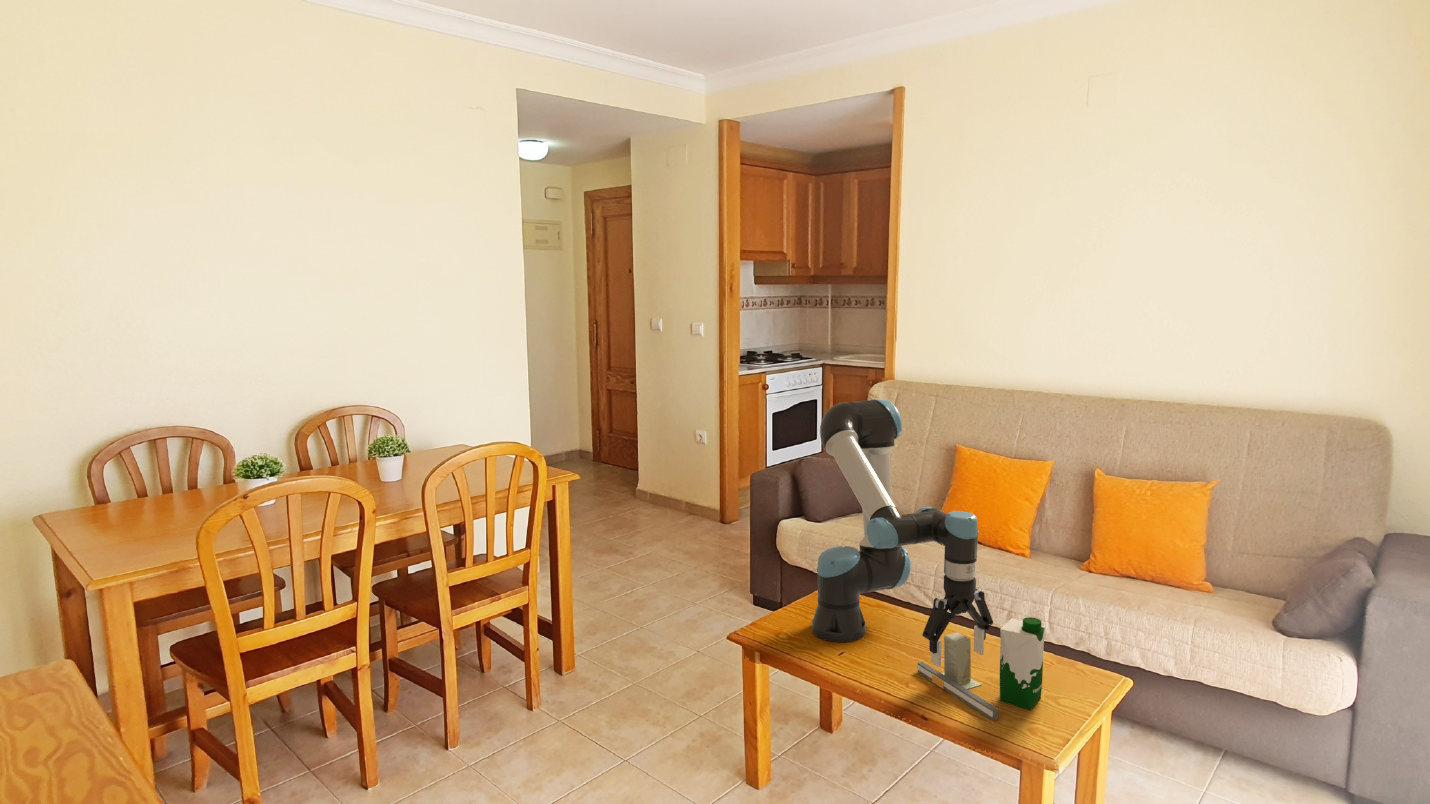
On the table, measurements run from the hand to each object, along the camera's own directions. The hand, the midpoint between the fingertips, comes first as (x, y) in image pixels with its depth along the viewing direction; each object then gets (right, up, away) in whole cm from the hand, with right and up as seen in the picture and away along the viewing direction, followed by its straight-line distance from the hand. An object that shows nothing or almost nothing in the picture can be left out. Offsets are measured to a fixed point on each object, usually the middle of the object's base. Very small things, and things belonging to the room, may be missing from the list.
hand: (957, 658), depth 201 cm
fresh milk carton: (+12, -7, -10) cm, 17 cm away
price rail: (-2, -6, -6) cm, 9 cm away
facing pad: (0, -5, 0) cm, 5 cm away
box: (0, -5, 0) cm, 5 cm away
